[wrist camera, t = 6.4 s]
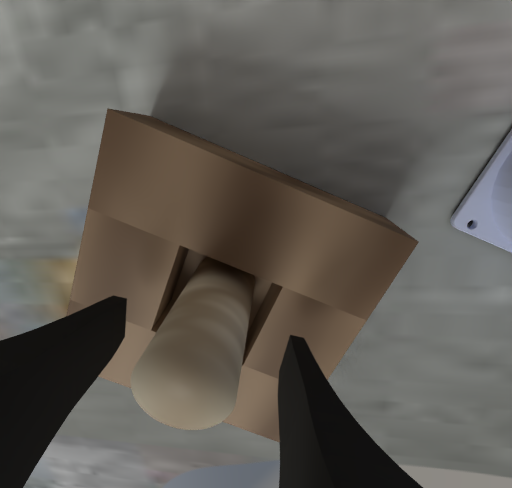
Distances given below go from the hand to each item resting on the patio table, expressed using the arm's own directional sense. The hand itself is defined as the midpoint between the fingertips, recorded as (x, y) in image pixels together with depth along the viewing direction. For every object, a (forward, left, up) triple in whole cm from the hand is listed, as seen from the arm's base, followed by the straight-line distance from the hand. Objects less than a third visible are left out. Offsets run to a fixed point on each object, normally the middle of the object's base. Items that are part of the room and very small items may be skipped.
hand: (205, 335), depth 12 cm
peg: (0, 0, -5) cm, 5 cm away
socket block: (0, 0, -6) cm, 6 cm away
